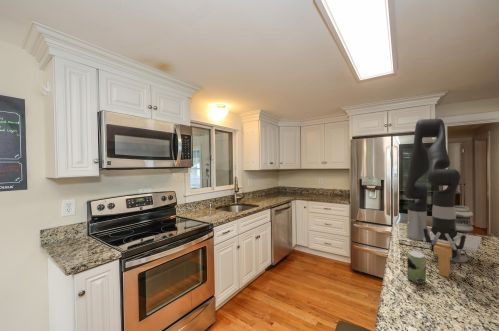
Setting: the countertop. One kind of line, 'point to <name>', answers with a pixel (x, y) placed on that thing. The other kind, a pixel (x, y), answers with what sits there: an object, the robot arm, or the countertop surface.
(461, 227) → the apothecary jar
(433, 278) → the countertop surface
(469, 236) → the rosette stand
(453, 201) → the robot arm
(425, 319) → the countertop surface
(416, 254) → the beverage can
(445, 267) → the orange block
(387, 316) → the countertop surface
